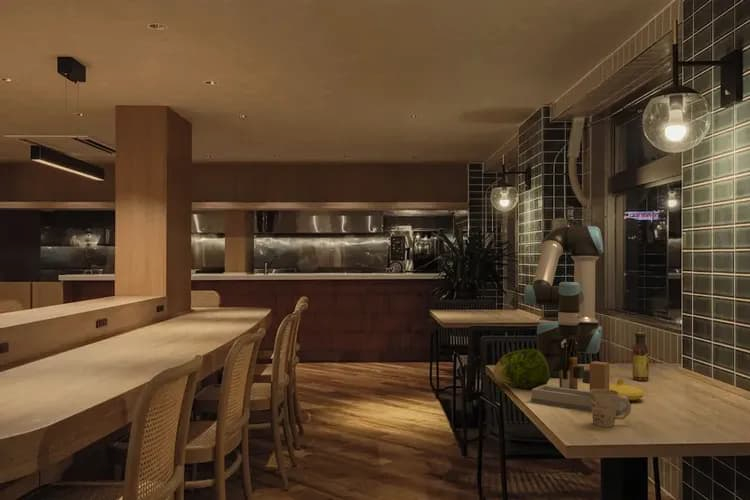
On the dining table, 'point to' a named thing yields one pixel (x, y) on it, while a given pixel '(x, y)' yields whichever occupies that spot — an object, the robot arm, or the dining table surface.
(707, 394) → the dining table surface
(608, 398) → the mug
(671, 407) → the dining table surface
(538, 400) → the brown blocky pieces
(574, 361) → the brown tall block
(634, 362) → the sauce bottle
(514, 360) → the lettuce
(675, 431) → the dining table surface
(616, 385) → the yellow curved piece
